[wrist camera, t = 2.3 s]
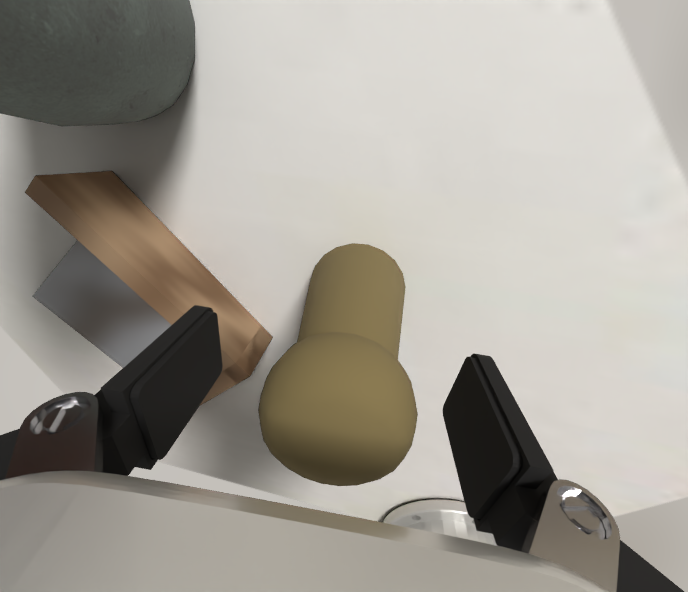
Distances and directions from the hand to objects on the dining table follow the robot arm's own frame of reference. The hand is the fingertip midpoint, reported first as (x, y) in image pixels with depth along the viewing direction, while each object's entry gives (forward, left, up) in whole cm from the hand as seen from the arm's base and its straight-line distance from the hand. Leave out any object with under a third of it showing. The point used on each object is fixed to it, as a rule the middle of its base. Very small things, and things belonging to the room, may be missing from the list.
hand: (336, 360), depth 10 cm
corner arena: (+7, +15, -8) cm, 19 cm away
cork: (-1, 0, -8) cm, 8 cm away
